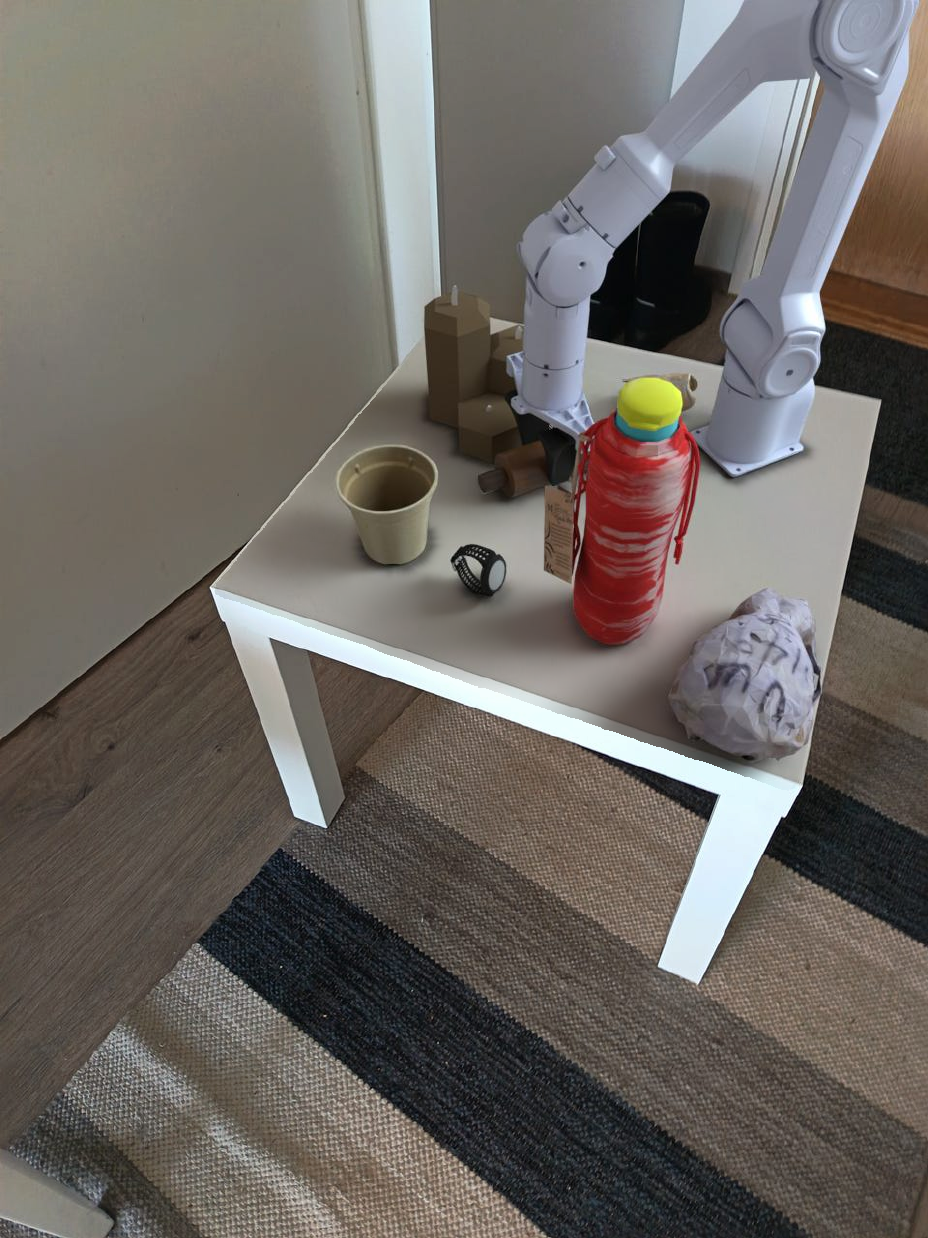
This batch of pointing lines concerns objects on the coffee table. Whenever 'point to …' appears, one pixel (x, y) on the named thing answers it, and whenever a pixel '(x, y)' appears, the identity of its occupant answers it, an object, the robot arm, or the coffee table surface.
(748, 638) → the scribbled crumpled paper bundle
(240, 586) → the coffee table surface
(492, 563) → the smartwatch
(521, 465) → the rolling pin
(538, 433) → the robot arm
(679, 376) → the shell
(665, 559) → the water bottle
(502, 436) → the candle
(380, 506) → the flower pot
